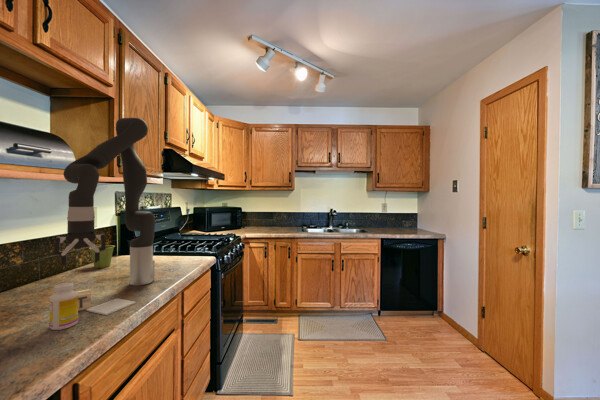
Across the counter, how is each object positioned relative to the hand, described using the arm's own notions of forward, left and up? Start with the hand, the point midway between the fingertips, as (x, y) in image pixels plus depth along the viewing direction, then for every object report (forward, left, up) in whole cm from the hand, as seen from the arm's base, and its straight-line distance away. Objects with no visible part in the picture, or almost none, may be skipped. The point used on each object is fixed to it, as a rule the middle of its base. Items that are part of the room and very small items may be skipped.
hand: (81, 264), depth 96 cm
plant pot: (-41, -49, -16) cm, 66 cm away
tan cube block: (0, 0, -16) cm, 16 cm away
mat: (-4, +10, -16) cm, 19 cm away
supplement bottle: (+11, +10, -16) cm, 22 cm away
